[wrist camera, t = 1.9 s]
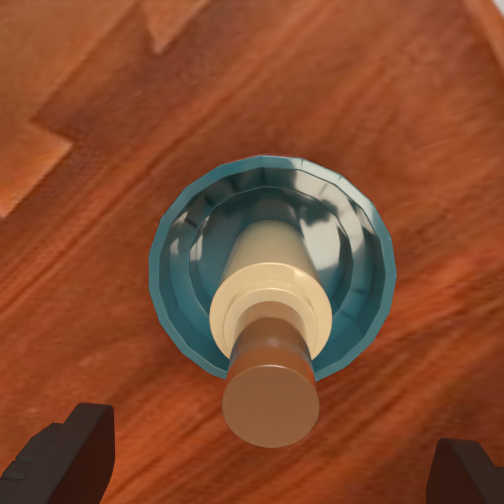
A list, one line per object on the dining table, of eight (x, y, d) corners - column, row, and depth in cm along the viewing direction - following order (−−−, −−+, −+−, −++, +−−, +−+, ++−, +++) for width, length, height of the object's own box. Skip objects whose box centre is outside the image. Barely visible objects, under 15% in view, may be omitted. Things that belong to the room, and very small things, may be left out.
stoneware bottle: (232, 216, 24) (181, 317, 10) (315, 222, 24) (377, 334, 10) (228, 292, 26) (177, 472, 12) (305, 299, 25) (349, 489, 12)
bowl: (172, 145, 24) (148, 146, 19) (387, 161, 23) (417, 166, 19) (169, 336, 27) (148, 378, 23) (355, 353, 27) (373, 398, 22)
